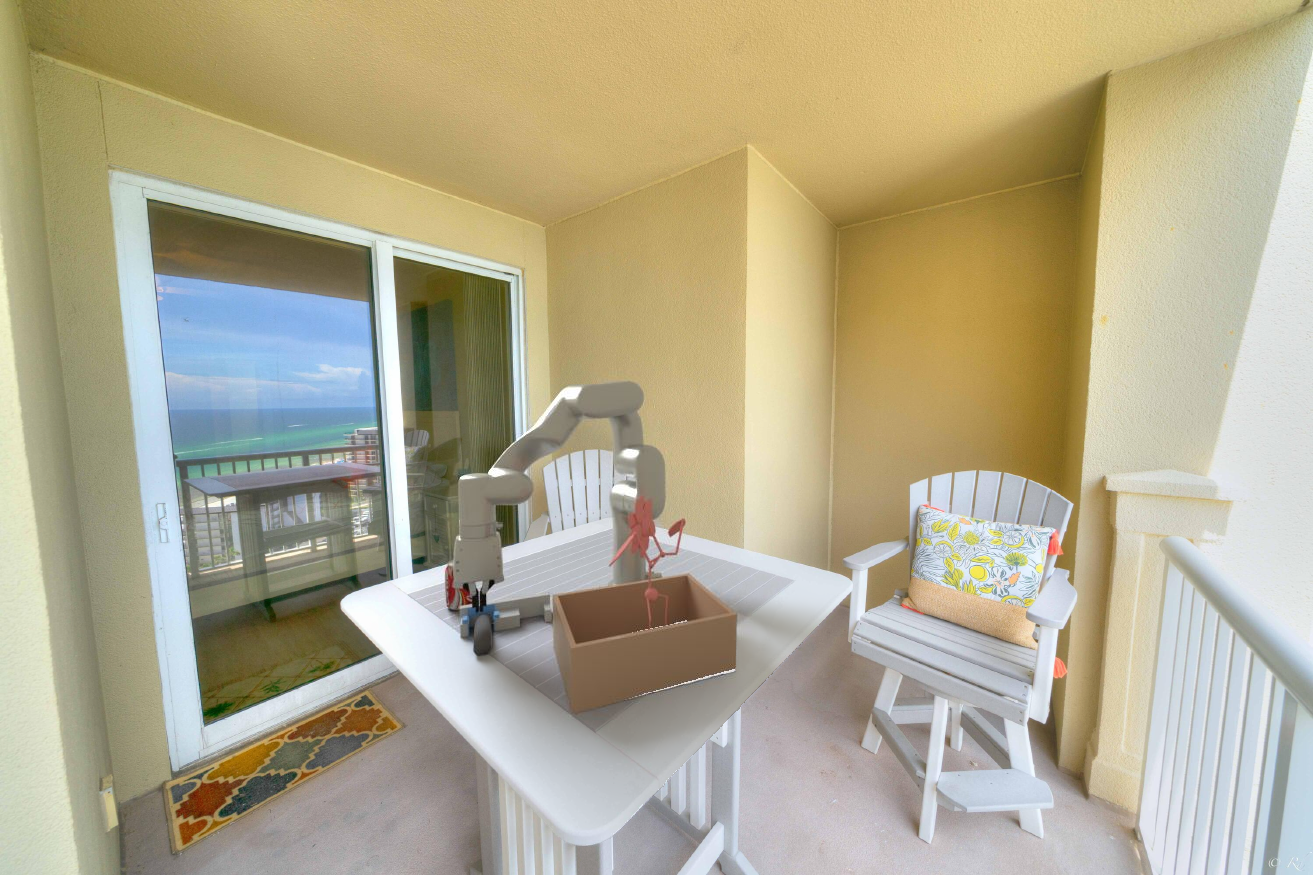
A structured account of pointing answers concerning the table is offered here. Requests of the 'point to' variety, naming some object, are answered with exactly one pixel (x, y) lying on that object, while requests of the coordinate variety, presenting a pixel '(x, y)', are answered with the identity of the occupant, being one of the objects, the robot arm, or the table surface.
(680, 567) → the table surface
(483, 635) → the grey cylindrical rod
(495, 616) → the panel with blue tabs
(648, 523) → the figurine
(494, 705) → the table surface
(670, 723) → the table surface
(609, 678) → the open brown box
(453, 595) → the soda can
